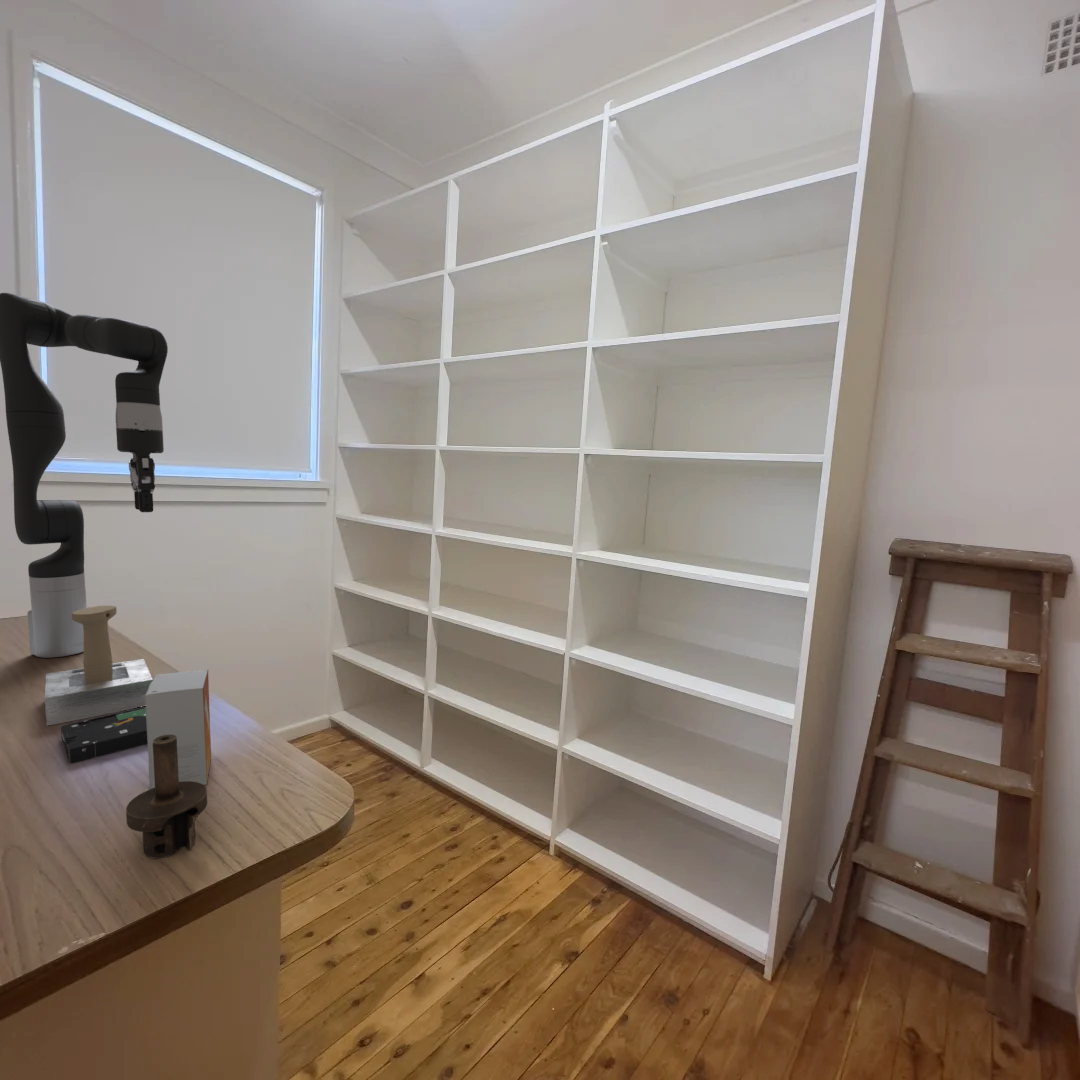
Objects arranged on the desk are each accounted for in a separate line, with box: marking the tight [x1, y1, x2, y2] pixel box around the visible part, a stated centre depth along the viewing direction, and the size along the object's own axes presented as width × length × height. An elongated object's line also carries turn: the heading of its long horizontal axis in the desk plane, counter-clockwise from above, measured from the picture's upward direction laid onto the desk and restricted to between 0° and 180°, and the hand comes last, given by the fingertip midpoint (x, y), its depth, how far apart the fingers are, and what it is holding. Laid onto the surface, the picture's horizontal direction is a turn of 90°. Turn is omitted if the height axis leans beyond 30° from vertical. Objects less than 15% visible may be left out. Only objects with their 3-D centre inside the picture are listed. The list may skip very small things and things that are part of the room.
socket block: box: [44, 658, 154, 727], centre depth 99 cm, size 14×14×5 cm
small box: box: [145, 669, 212, 789], centre depth 75 cm, size 8×6×13 cm
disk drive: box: [60, 707, 148, 765], centre depth 87 cm, size 10×3×15 cm
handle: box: [72, 605, 117, 685], centre depth 98 cm, size 5×6×15 cm
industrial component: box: [125, 734, 208, 859], centre depth 62 cm, size 9×7×12 cm
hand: (144, 510), depth 114 cm, fingers open, 8 cm apart
